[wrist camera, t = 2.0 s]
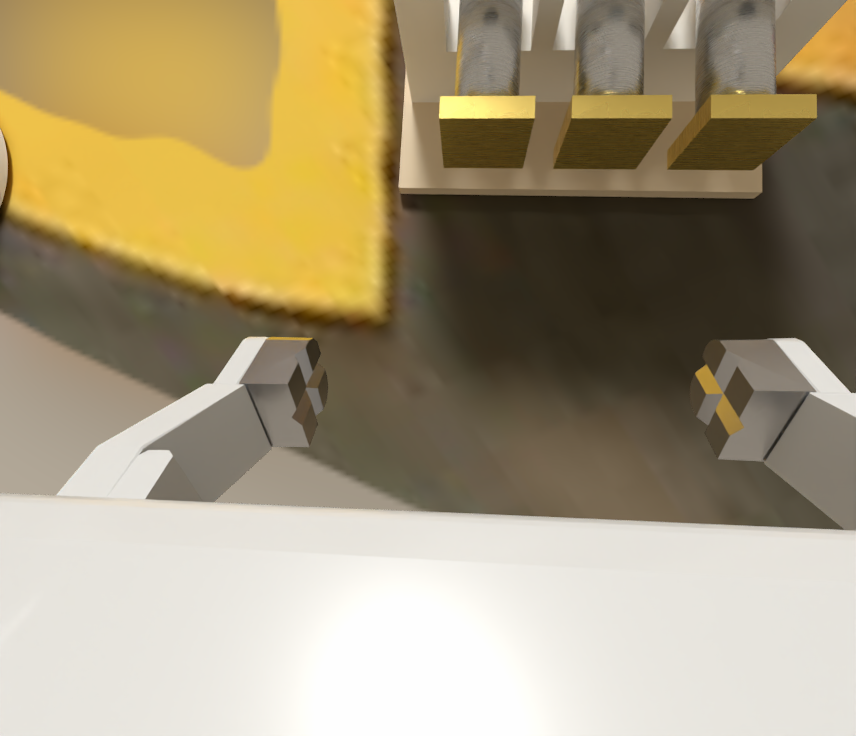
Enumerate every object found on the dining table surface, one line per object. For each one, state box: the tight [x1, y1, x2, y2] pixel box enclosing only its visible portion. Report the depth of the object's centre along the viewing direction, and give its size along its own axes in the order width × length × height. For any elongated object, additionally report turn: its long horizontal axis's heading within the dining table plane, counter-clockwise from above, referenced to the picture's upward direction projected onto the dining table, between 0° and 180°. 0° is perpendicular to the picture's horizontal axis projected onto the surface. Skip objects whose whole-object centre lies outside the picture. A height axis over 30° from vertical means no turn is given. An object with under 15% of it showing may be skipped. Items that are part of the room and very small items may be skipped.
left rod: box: [439, 0, 536, 169], centre depth 21 cm, size 10×4×4 cm, turn 176°
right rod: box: [667, 0, 817, 170], centre depth 21 cm, size 10×4×4 cm, turn 176°
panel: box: [394, 0, 847, 199], centre depth 21 cm, size 11×21×14 cm, turn 86°
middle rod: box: [553, 0, 672, 169], centre depth 21 cm, size 10×4×4 cm, turn 176°
